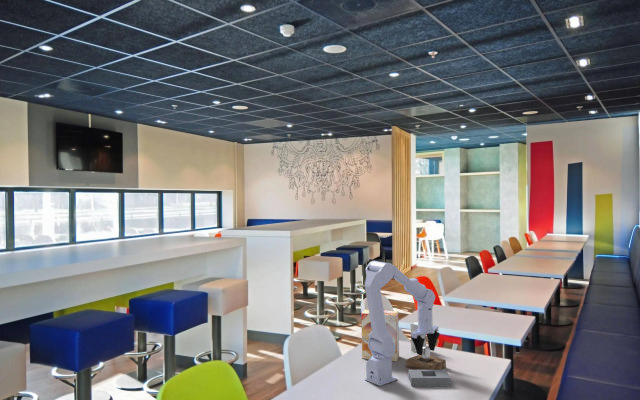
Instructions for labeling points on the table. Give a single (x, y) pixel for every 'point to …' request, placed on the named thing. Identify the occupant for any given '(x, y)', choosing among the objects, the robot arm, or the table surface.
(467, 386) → the table surface
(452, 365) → the table surface
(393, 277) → the robot arm
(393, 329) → the coffeecake box
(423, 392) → the table surface
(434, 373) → the bored beam
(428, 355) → the metal axle
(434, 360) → the walnut seat block
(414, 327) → the skincare box
